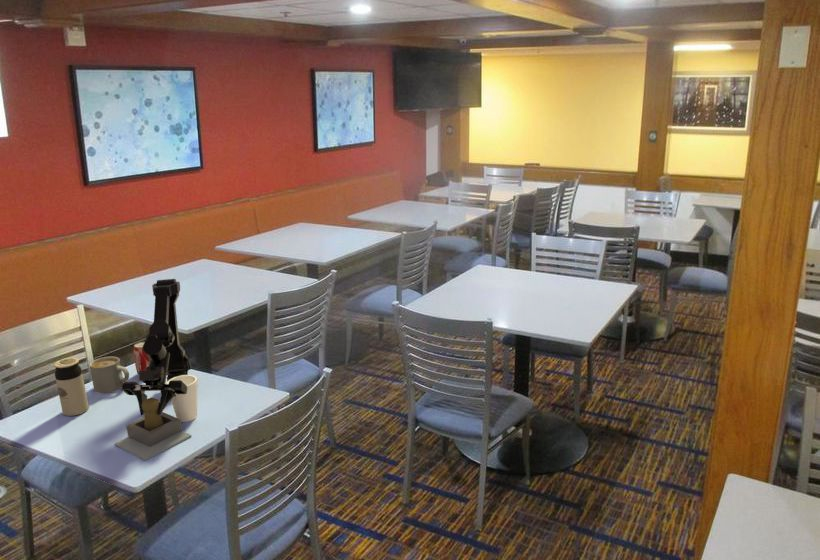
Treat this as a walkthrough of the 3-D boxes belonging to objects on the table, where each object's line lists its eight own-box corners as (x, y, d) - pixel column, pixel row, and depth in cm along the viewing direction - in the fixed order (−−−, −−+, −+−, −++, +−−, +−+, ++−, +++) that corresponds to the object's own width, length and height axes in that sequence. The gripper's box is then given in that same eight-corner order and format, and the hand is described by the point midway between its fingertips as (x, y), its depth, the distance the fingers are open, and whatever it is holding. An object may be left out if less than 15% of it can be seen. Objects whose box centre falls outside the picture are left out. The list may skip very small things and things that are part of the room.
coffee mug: (87, 391, 240) (83, 365, 237) (108, 379, 249) (104, 355, 246) (116, 396, 236) (112, 370, 233) (137, 384, 244) (133, 359, 241)
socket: (160, 423, 216) (158, 410, 214) (191, 436, 207) (189, 423, 205) (114, 445, 203) (112, 431, 202) (145, 460, 194) (143, 446, 193)
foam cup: (207, 416, 219) (202, 380, 215) (181, 427, 212) (175, 390, 209) (192, 407, 225) (187, 372, 221) (166, 418, 219) (161, 381, 215)
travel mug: (82, 403, 231) (72, 355, 226) (93, 409, 226) (83, 360, 221) (58, 412, 225) (48, 363, 220) (69, 419, 220) (59, 369, 215)
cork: (153, 438, 204) (147, 406, 201) (140, 433, 207) (135, 401, 204) (169, 429, 209) (164, 398, 205) (156, 424, 212) (151, 393, 209)
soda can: (133, 375, 252) (128, 346, 248) (147, 368, 258) (143, 339, 254) (146, 379, 248) (141, 349, 245) (161, 371, 254) (156, 342, 251)
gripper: (118, 358, 205) (108, 407, 198) (178, 356, 204) (171, 406, 197) (133, 370, 215) (124, 418, 208) (190, 369, 214) (183, 416, 207)
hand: (150, 414), depth 205 cm, fingers closed on cork, 5 cm apart
